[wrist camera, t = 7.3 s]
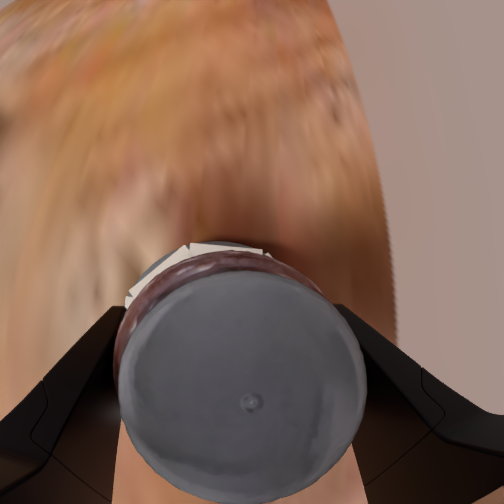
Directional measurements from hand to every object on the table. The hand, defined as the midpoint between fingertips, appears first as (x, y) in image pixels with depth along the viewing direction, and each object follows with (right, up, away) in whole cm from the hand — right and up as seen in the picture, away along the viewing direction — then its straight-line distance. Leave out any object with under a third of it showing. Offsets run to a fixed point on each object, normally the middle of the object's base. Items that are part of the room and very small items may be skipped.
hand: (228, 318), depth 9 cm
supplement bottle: (-1, -3, +6) cm, 7 cm away
